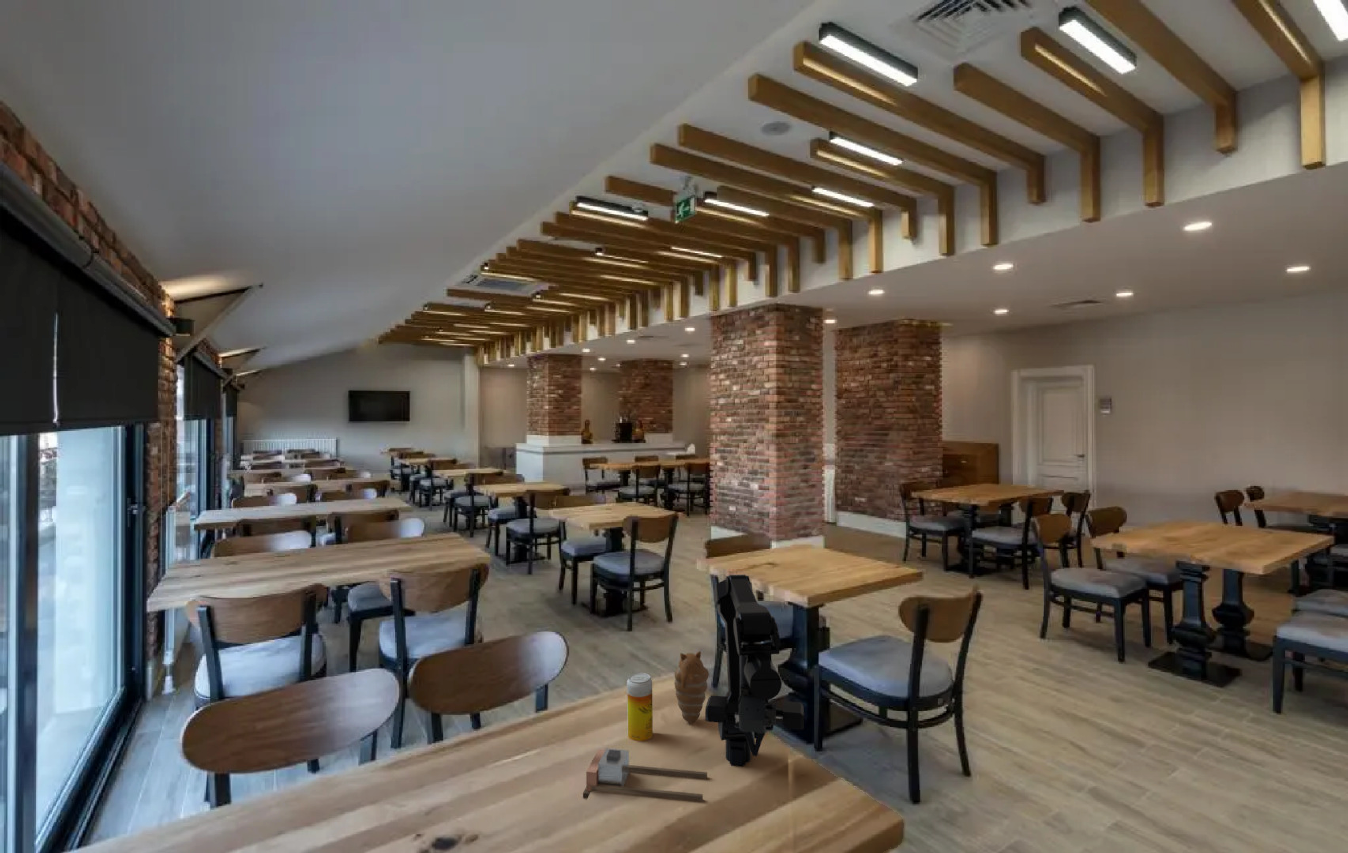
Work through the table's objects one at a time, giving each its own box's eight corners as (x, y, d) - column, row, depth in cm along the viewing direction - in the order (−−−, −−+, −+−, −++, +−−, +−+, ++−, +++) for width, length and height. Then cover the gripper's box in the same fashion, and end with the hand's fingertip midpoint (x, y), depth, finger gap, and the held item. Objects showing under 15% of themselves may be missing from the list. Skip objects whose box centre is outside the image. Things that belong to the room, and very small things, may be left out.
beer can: (652, 745, 147) (651, 683, 147) (626, 745, 147) (625, 683, 147) (653, 732, 153) (652, 672, 153) (628, 732, 154) (628, 672, 153)
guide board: (597, 769, 138) (596, 747, 138) (709, 780, 134) (709, 757, 133) (583, 797, 128) (582, 773, 128) (704, 810, 124) (704, 785, 123)
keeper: (606, 771, 135) (606, 744, 135) (628, 773, 134) (628, 746, 134) (598, 787, 129) (598, 760, 129) (621, 790, 129) (621, 762, 128)
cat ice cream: (678, 731, 154) (677, 659, 153) (670, 716, 161) (670, 647, 161) (712, 727, 156) (712, 655, 155) (703, 712, 163) (702, 644, 163)
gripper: (700, 690, 115) (701, 774, 115) (804, 698, 111) (804, 784, 112) (708, 666, 126) (709, 742, 126) (803, 672, 122) (803, 751, 123)
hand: (754, 755), depth 122 cm, fingers closed
